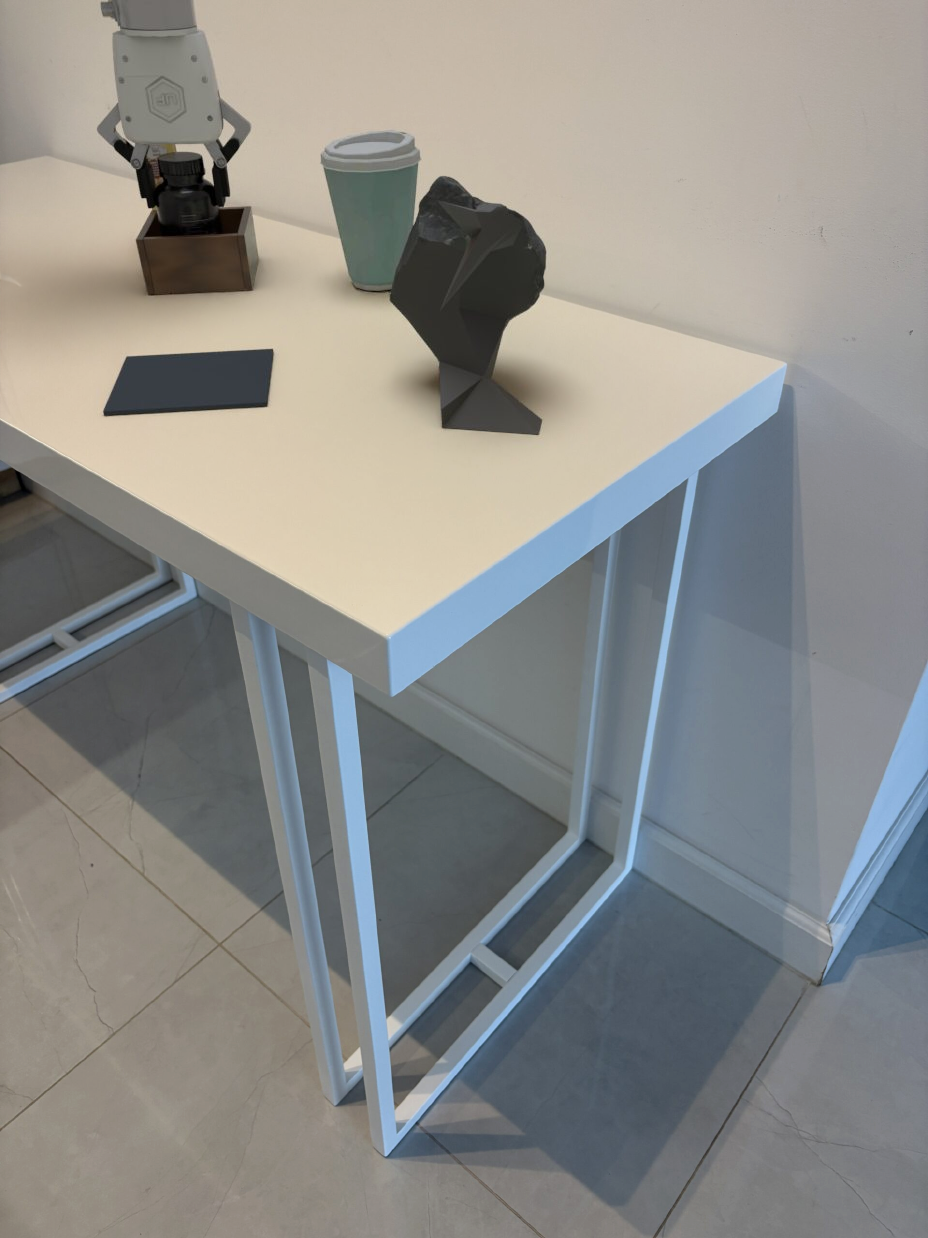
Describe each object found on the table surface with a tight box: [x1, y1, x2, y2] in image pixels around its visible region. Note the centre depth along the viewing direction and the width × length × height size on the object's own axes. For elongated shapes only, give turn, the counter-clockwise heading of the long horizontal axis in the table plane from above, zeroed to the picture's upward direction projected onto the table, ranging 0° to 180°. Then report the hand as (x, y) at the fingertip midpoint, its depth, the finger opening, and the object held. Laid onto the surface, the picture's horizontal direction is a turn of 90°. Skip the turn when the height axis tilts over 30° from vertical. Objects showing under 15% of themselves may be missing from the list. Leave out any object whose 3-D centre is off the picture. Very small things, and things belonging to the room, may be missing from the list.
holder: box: [135, 205, 260, 296], centre depth 107 cm, size 12×12×6 cm
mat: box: [102, 348, 274, 416], centre depth 86 cm, size 14×12×1 cm
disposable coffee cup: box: [320, 129, 422, 292], centre depth 102 cm, size 11×11×15 cm
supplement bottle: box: [154, 151, 223, 237], centre depth 105 cm, size 7×7×12 cm
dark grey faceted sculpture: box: [389, 175, 547, 435], centre depth 79 cm, size 14×15×18 cm
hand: (187, 202), depth 104 cm, fingers closed on supplement bottle, 6 cm apart
